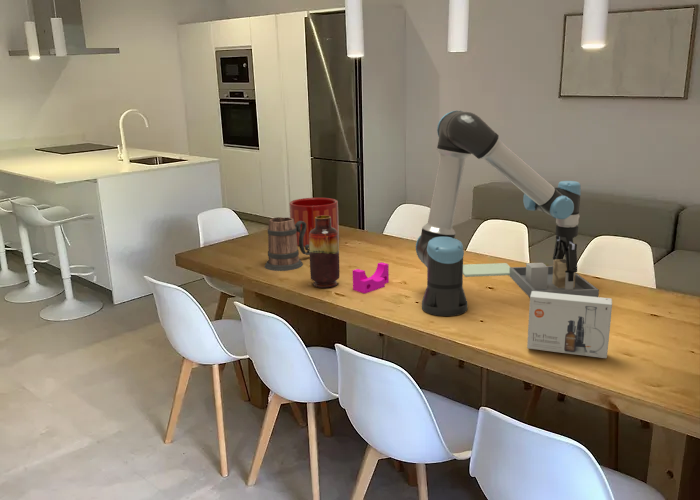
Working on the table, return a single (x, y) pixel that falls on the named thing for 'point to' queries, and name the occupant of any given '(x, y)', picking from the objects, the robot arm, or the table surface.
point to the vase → (324, 253)
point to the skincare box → (569, 323)
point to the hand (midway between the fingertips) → (563, 284)
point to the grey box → (537, 275)
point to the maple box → (560, 273)
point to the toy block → (371, 279)
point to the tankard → (285, 244)
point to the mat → (486, 269)
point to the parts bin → (580, 284)
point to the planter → (313, 213)
